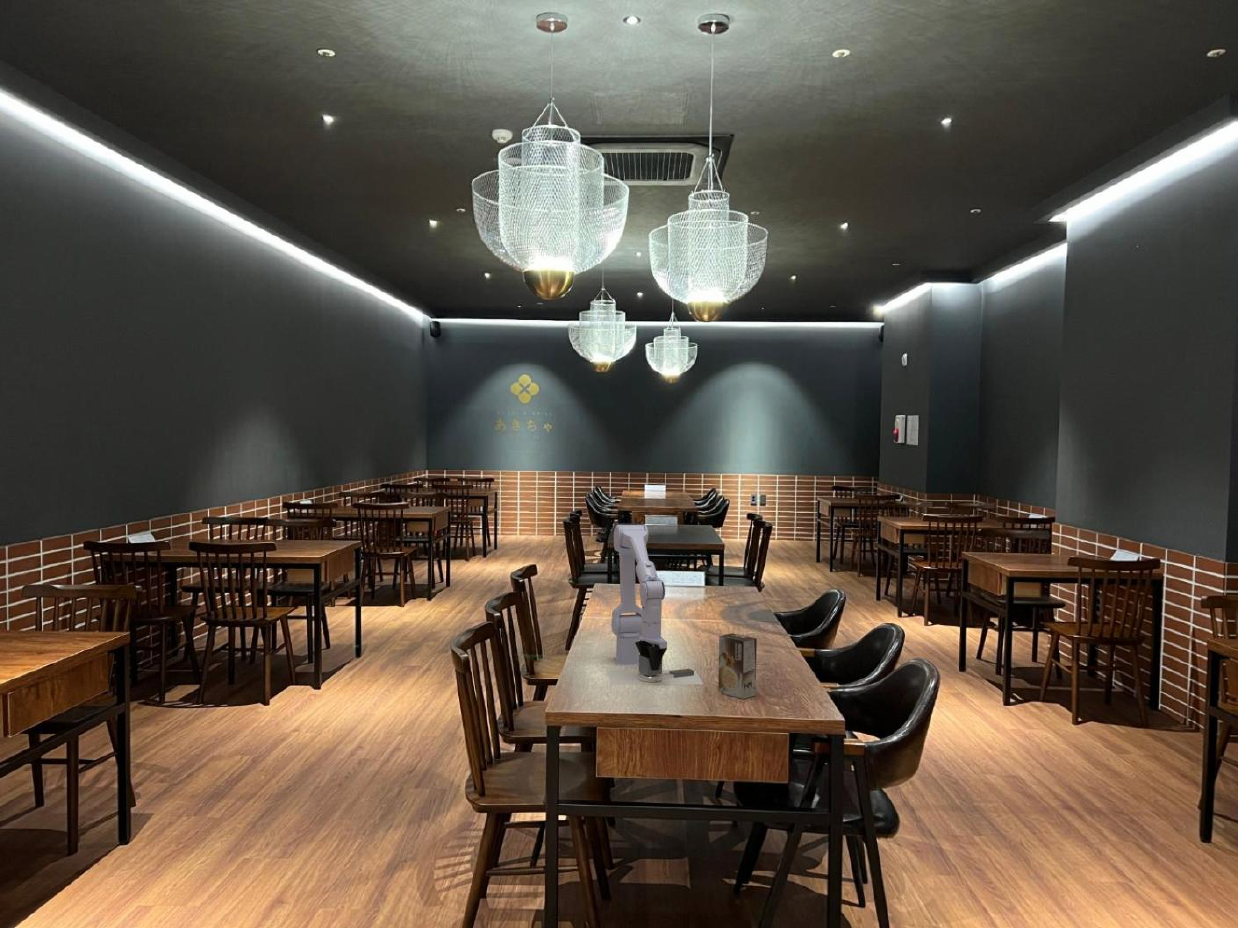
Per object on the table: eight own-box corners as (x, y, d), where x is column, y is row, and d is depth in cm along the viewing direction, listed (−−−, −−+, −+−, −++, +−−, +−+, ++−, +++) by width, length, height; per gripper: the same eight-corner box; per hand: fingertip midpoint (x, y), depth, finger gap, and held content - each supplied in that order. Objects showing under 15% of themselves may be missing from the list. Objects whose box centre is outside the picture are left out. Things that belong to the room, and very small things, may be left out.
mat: (607, 671, 266) (607, 669, 266) (694, 671, 268) (694, 670, 268) (610, 685, 250) (610, 683, 250) (703, 685, 252) (703, 684, 252)
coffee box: (757, 695, 243) (758, 638, 243) (743, 699, 239) (744, 641, 238) (730, 688, 250) (732, 632, 250) (716, 692, 245) (718, 635, 245)
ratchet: (633, 677, 257) (634, 661, 257) (684, 671, 266) (685, 655, 266) (646, 683, 251) (646, 666, 251) (698, 677, 260) (698, 660, 259)
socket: (638, 671, 256) (638, 654, 256) (653, 669, 259) (653, 653, 259) (647, 675, 252) (647, 658, 252) (662, 673, 254) (662, 656, 254)
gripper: (627, 618, 260) (626, 663, 260) (652, 627, 247) (651, 675, 247) (647, 616, 263) (646, 661, 263) (673, 625, 250) (672, 672, 251)
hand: (650, 667), depth 255 cm, fingers closed on socket, 5 cm apart
